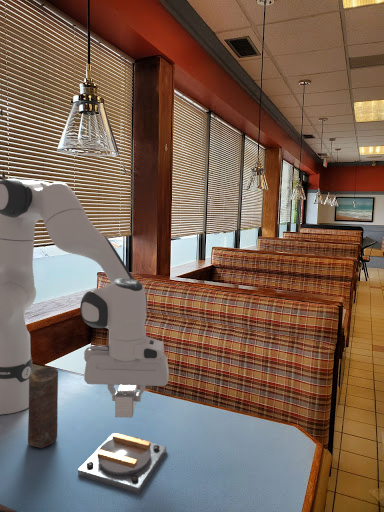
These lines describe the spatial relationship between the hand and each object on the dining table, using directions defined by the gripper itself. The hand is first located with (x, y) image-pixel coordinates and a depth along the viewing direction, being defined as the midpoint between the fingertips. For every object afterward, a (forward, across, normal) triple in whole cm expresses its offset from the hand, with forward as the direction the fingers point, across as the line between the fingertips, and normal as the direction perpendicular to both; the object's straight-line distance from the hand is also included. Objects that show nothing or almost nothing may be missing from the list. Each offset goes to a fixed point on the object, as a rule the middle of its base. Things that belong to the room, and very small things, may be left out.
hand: (126, 400), depth 94 cm
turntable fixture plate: (+17, 0, 0) cm, 17 cm away
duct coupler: (+2, 0, 0) cm, 2 cm away
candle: (+17, -23, +7) cm, 29 cm away
